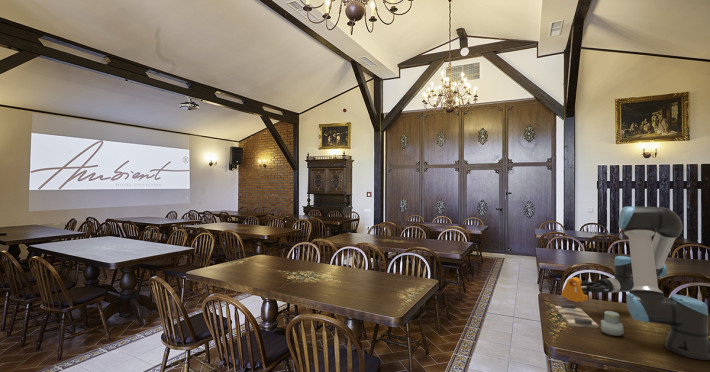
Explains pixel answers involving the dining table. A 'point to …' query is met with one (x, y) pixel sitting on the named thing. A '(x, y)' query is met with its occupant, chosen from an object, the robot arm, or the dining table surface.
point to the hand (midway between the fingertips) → (571, 287)
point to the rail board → (575, 316)
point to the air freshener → (611, 324)
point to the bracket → (570, 291)
